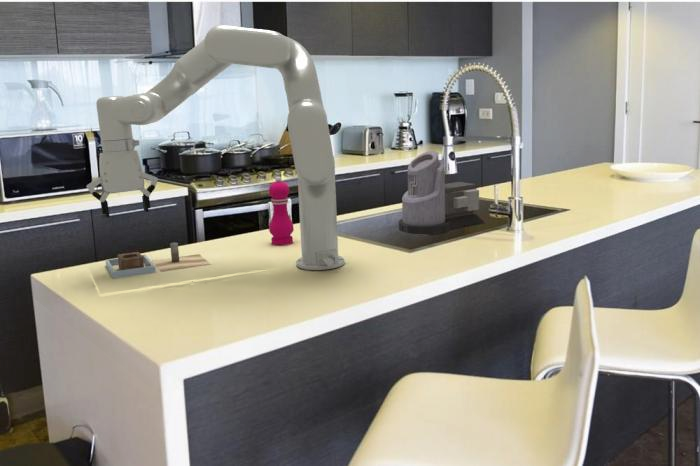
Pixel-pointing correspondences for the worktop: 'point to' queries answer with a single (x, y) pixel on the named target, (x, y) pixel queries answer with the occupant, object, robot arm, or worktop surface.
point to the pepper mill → (280, 214)
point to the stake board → (179, 260)
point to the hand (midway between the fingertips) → (127, 213)
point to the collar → (130, 261)
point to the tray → (130, 271)
